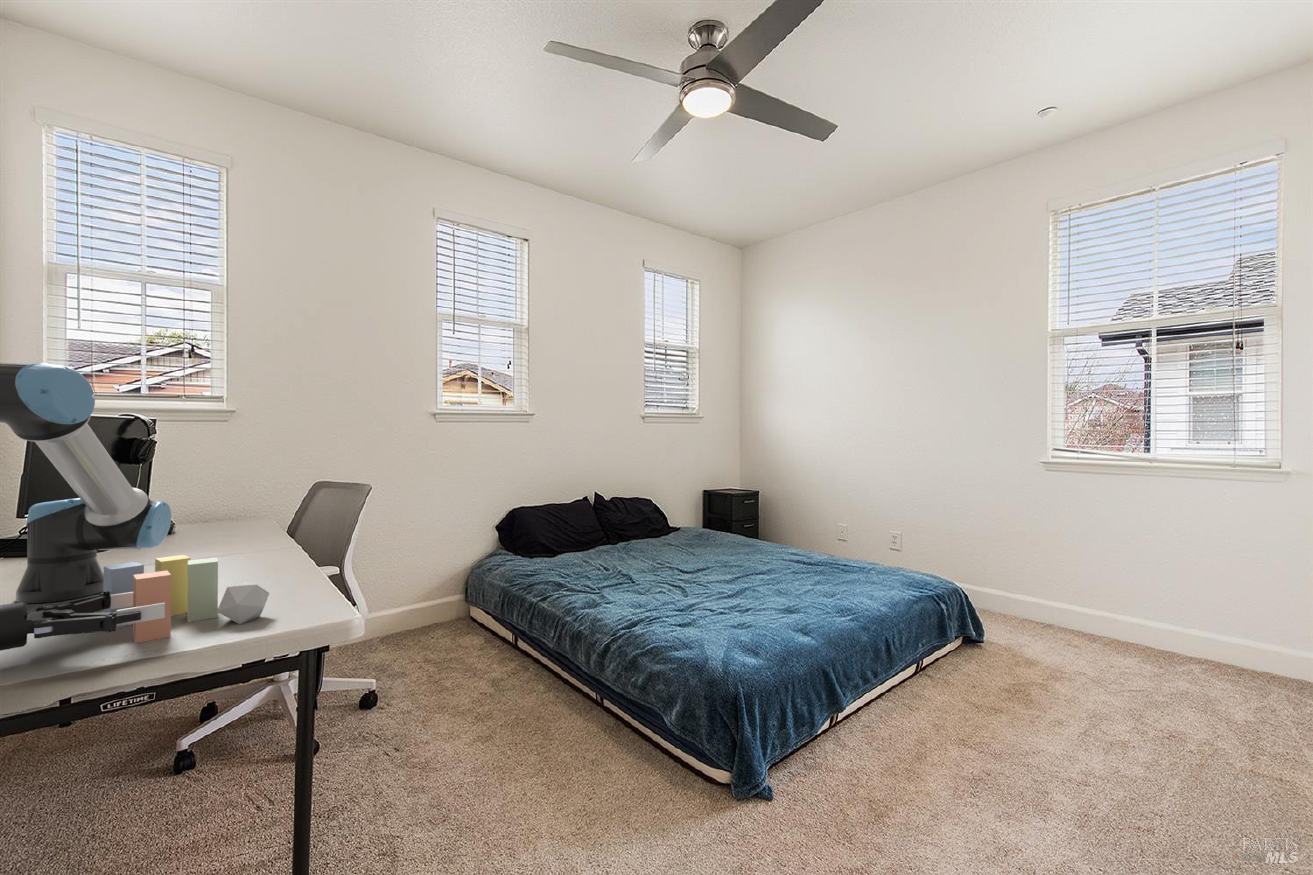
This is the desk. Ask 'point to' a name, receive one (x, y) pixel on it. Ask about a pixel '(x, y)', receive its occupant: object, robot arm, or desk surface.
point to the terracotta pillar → (151, 592)
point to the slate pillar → (120, 580)
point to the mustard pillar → (176, 580)
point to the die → (243, 602)
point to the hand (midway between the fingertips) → (160, 602)
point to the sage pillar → (202, 589)
